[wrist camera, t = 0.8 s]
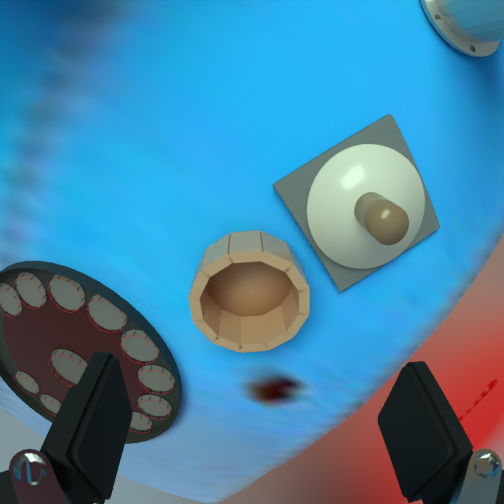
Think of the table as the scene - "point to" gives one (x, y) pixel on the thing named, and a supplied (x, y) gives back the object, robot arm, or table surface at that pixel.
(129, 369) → the palette wheel
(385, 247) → the lid
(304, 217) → the mat
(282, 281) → the bowl
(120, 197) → the table surface
